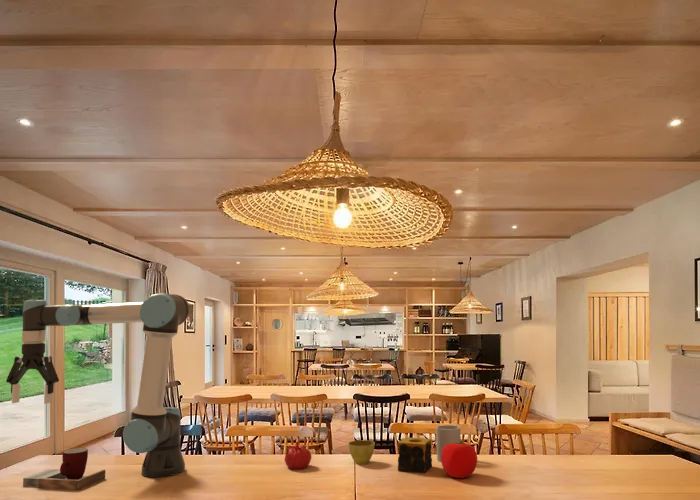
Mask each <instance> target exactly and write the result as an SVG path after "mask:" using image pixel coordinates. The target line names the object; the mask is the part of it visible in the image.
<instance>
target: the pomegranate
mask: <svg viewBox="0 0 700 500" xmlns="http://www.w3.org/2000/svg"><path fill="white" fill-rule="evenodd" d="M299 444H300V442H299V441H295V444H294V445H295V446H291V445H290V446H288V447H287V448H288V450H287V452H285V455H284V462H285V465H286V466H287V468H289V469H291V470H302V469H305V468H306V467H308V466H309V465H310V463H311V461H312V458H313V457H312V453H311V451H310V450H309V449H308V446H307V445H305V444H300V445H299ZM306 447H307V448H306Z"/></svg>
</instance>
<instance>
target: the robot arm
mask: <svg viewBox="0 0 700 500" xmlns="http://www.w3.org/2000/svg"><path fill="white" fill-rule="evenodd" d="M190 309H191V308H190V303H189V302H188V301H187V299H186V298H184V297H183V296H181V295H179V294H174V293H173V294H171V293H164V292H163V293H155V294H154V293H153V294H152V295H149V296H147V297H146V299H144V300H143V301H139V302H121V303H120V302H119V303H118V302H117V303H102V304H101V303H99V304H98V303H97V304H84V305H83V304H80V305H79V304H78V305H77V304H76V305H75V304H51V305H49V304H48V303H47V300H45V299H27V300H25V301H24V302H23V308H22V332H21V342H22V344H21V354H22V356H21V355H20V356H15V357H14V361H13V364H12V367H11V368H10V372H9V374H8V375H7V377H6V380H5V382H6V383H9V384H10V393H11V403H12V404H15V403H16V404H17V403H20V395H21V383H20V380H22V378H23V376H25V374H26V373H27V372H28V370H36V371H38V373H39V374H40V376H41V377H42V379H43V381H44V382H45V384H44V394H43V396H44V397H43V398H44V399H43V400H44V401H43V404H44V405H45V404H51V403H52V399H53V397H52V396H53V395H52V394H54V386H55V384H56V383H59V382H60V379H59V377H58V374H57V371H56V368H55V366H54V363H53V359H52V358H53V356H51V355H47V356H44V355H45V352H46V344H45V342H46V329H47V327H69V326H88V325H89V326H90V325H107V324H109V325H111V324H129V323H130V324H131V323H133V324H135V323H143V327H142V331H143V334H145V335H146V338H145V346H144V354H143V360H142V361H143V363H142V368H141V373H140V374H141V375H140V382H139V383H140V384H139V388H138V390H139V391H138V398H137V405H136V406H135V407H134V408H132V409H131V414H130V420H129V422H127V423H126V425H125V426H124V428H123V430H122V431H123V432H122V437H123V438H122V440H123V442H124V445H125V446H126V447H127V448H128V449H129V450H130V451H132V452H133V453H136V454H145V453H146V454H145V456H144V460H143V463H142V466H141V475H142V476H144V477H149V478H160V477H161V478H162V477H163V478H164V477H171V476H175V475H179V474H181V473H183V472H184V471H185V470H186V463H185V459H184V456H183V454H182V451H181V426H182V425H181V424H182V423H181V422H182V421H181V420H182V416H181V410H180V408H179V407H173V406H172V407H170V406H169V407H165V406H164V401H165V393H166V387H167V380H168V379H167V378H168V373H169V372H168V371H169V365H170V356H171V351H172V350H171V348H172V341H173V338H174V337H175V336H176V335H177V334H178V331H179V326H180V325H182V324H183V323H185V322H186V321H187V319H188V318H189V315H190V312H191V310H190Z"/></svg>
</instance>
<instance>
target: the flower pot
mask: <svg viewBox="0 0 700 500" xmlns="http://www.w3.org/2000/svg"><path fill="white" fill-rule="evenodd" d="M375 443H376V442H375V441H373V440H365V439H363V440H361V439H360V440H352V441H350V442H349V441H348V443H347V445H348V449H349V453H350V456H351V458H352V460H353V462H354V463H355V464H358V465H365V464H368V463H369V462H370V460H371V459H372V457H373V453H374V450H375V446H376V444H375Z"/></svg>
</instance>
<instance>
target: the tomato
mask: <svg viewBox="0 0 700 500" xmlns="http://www.w3.org/2000/svg"><path fill="white" fill-rule="evenodd" d="M477 463H478V454H477V451H476V449H475V448H474V447H473V446H472V445H471V444H470V443H466V442H463V441H462V440H461V441H460V443H450V444H447V445H446V446H444V448H443V450H442V453H441V466H442V468H443V470H444V472H445V473H446V474H447V475H448V476H449V477H452V478H456V479H464V478H467V477H470V476H471V475H472V474H473V473H474V472H475V470H476V468H477V465H478V464H477Z"/></svg>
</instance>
